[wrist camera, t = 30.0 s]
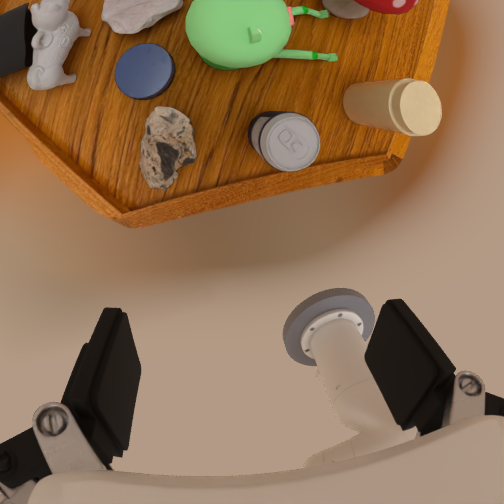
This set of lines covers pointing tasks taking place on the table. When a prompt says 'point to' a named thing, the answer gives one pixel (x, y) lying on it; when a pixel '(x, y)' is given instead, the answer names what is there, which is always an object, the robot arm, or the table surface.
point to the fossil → (136, 13)
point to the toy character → (245, 32)
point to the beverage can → (284, 140)
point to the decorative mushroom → (366, 7)
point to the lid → (144, 71)
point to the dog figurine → (52, 43)
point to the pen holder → (16, 40)
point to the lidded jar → (394, 106)
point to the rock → (166, 146)
